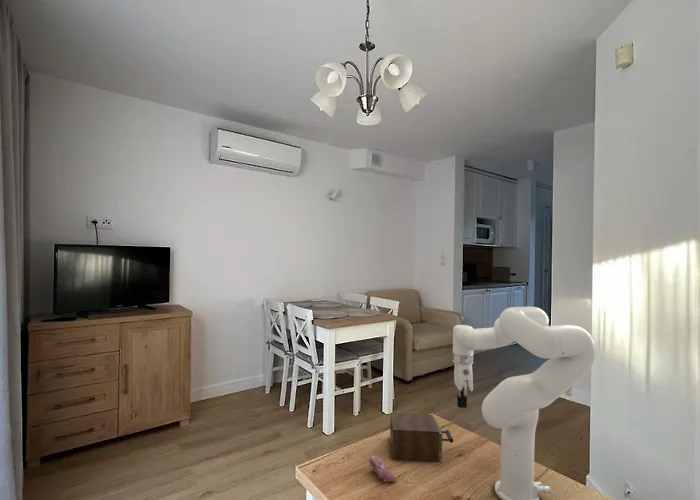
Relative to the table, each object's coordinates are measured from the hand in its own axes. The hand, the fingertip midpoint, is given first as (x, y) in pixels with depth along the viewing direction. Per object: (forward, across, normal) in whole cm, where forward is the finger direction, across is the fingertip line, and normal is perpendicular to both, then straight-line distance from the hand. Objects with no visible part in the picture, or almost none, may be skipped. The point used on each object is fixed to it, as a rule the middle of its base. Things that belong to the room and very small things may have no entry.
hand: (461, 406), depth 139 cm
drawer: (+16, 0, +14) cm, 21 cm away
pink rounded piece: (+17, -18, +31) cm, 40 cm away
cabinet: (+17, 0, +18) cm, 25 cm away
